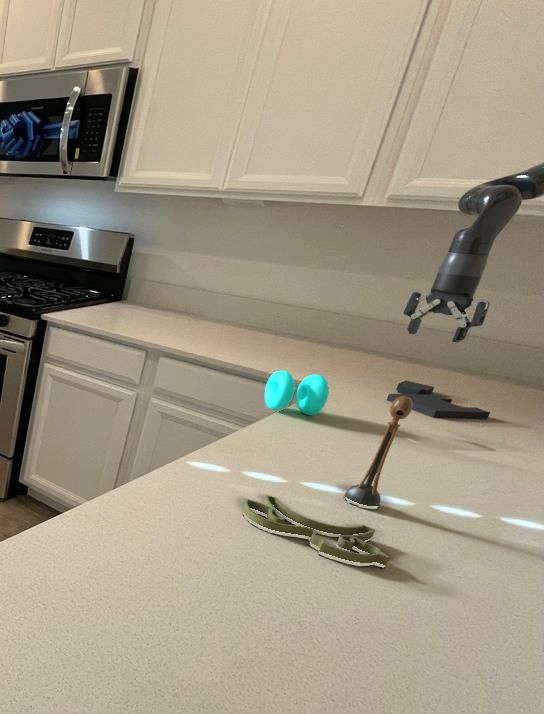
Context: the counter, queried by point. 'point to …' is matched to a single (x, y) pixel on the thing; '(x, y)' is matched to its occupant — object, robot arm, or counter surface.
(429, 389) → the tab pad
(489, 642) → the counter surface
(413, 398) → the notch pad
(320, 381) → the donuts
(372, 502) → the wooden tabletop sculpture
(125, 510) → the counter surface
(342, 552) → the cookie cutter
